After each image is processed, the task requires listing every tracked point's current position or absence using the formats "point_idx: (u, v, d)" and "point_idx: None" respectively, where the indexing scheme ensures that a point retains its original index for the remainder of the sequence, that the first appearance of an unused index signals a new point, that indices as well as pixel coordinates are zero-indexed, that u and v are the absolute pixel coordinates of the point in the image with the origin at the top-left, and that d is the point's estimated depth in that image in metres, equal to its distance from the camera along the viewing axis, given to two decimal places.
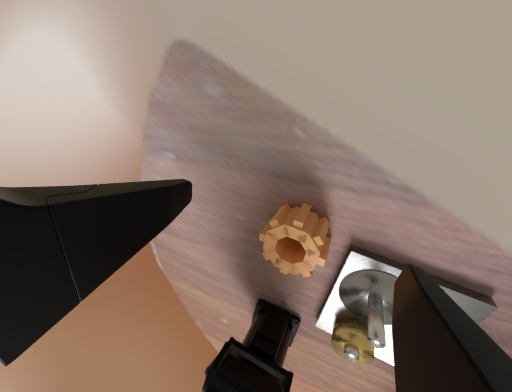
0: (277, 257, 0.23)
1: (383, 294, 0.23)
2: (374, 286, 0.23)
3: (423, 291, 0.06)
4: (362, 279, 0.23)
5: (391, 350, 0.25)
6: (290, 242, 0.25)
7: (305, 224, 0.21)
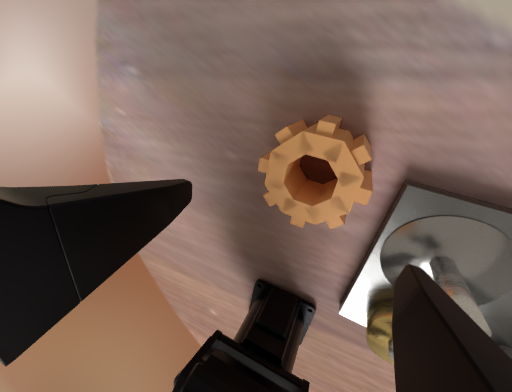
0: (287, 197, 0.14)
1: (459, 257, 0.14)
2: (443, 243, 0.14)
3: (423, 291, 0.06)
4: (423, 233, 0.14)
5: None
6: (306, 183, 0.17)
7: (336, 135, 0.13)
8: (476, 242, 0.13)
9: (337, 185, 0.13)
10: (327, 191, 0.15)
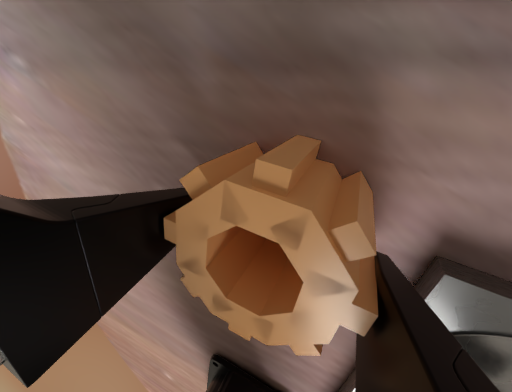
0: (217, 292, 0.08)
1: None
2: (510, 380, 0.08)
3: (382, 274, 0.06)
4: None
5: None
6: (264, 246, 0.10)
7: (301, 184, 0.06)
8: None
9: (303, 292, 0.06)
10: (293, 275, 0.08)
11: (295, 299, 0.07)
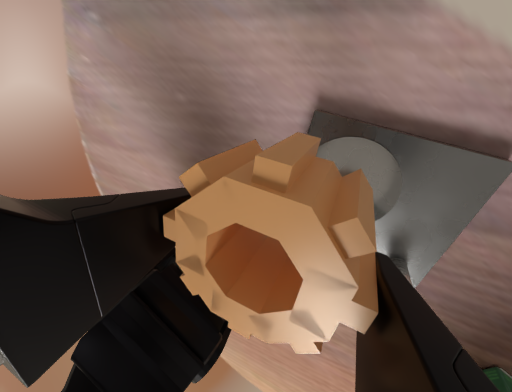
0: (216, 290, 0.08)
1: None
2: (345, 164, 0.17)
3: (382, 274, 0.06)
4: (330, 156, 0.17)
5: None
6: (264, 244, 0.10)
7: (301, 181, 0.06)
8: (368, 159, 0.16)
9: (302, 289, 0.06)
10: (293, 273, 0.08)
11: (295, 297, 0.07)
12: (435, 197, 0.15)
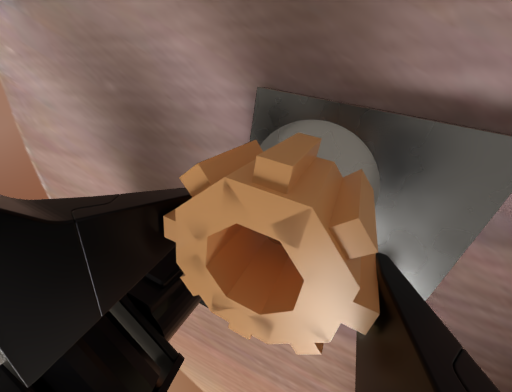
0: (217, 290, 0.07)
1: None
2: None
3: (382, 274, 0.06)
4: None
5: None
6: (264, 245, 0.10)
7: (302, 181, 0.06)
8: (332, 150, 0.11)
9: (303, 290, 0.06)
10: (294, 274, 0.08)
11: (296, 297, 0.07)
12: (427, 199, 0.11)
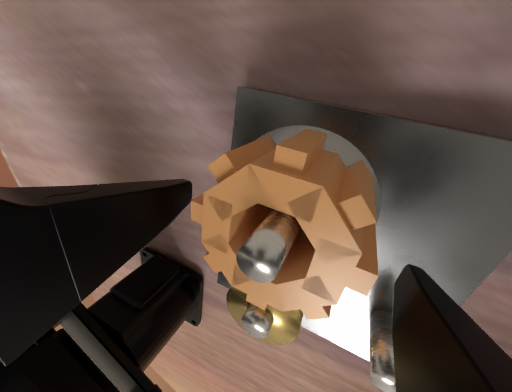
0: (237, 265, 0.09)
1: None
2: None
3: (423, 291, 0.06)
4: None
5: (340, 317, 0.13)
6: None
7: (312, 168, 0.07)
8: None
9: (314, 259, 0.07)
10: (304, 252, 0.09)
11: (307, 269, 0.08)
12: (438, 220, 0.09)
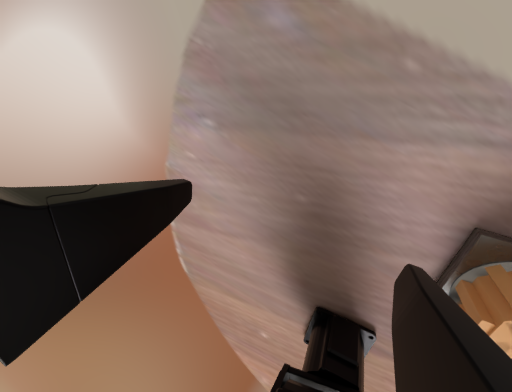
0: None
1: None
2: None
3: (423, 291, 0.06)
4: None
5: None
6: None
7: None
8: None
9: None
10: None
11: None
12: None
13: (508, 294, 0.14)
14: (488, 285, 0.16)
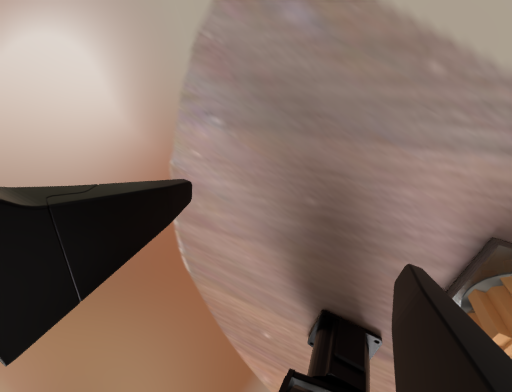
0: None
1: None
2: None
3: (423, 291, 0.06)
4: None
5: None
6: None
7: None
8: None
9: None
10: None
11: None
12: None
13: None
14: (503, 296, 0.16)
